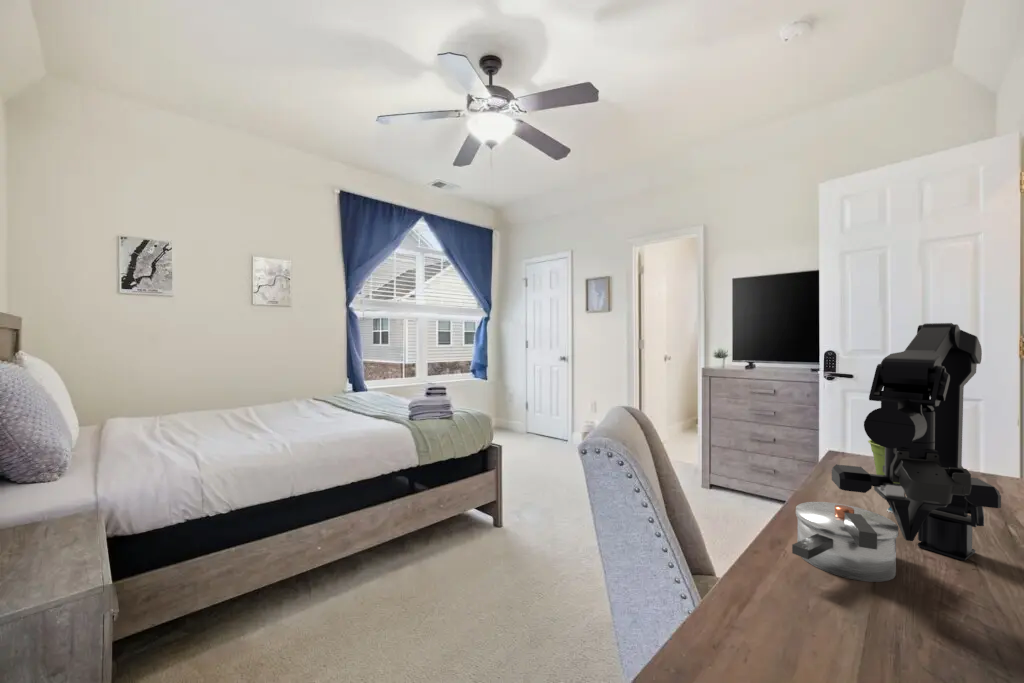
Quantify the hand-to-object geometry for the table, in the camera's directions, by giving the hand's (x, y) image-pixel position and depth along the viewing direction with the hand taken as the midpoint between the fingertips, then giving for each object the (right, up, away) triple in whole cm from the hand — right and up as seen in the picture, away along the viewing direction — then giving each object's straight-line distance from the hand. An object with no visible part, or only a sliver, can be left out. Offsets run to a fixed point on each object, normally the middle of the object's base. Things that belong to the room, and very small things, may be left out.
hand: (908, 539), depth 68 cm
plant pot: (+43, -9, +51) cm, 67 cm away
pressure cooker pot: (-4, -9, +9) cm, 13 cm away
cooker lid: (-3, -2, +8) cm, 9 cm away
